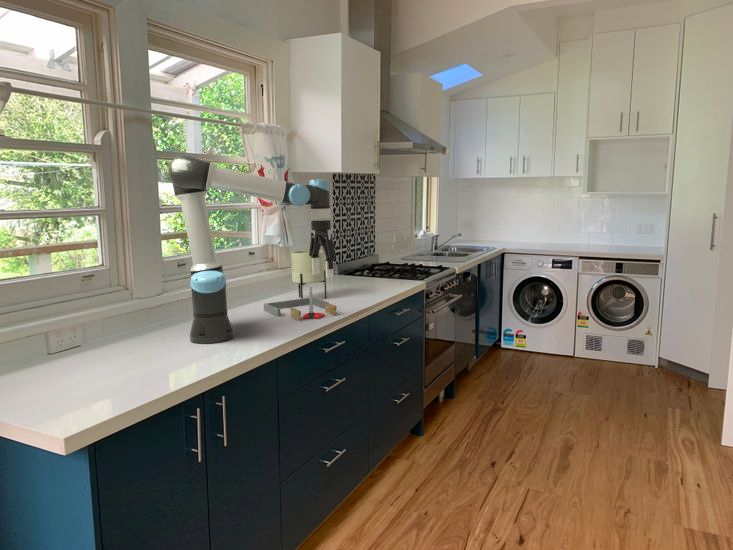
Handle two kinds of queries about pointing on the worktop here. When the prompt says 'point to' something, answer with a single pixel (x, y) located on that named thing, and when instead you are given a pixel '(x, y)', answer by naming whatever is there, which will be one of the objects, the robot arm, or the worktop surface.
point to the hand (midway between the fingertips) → (322, 275)
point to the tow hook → (311, 314)
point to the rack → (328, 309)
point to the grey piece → (291, 305)
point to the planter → (306, 269)
